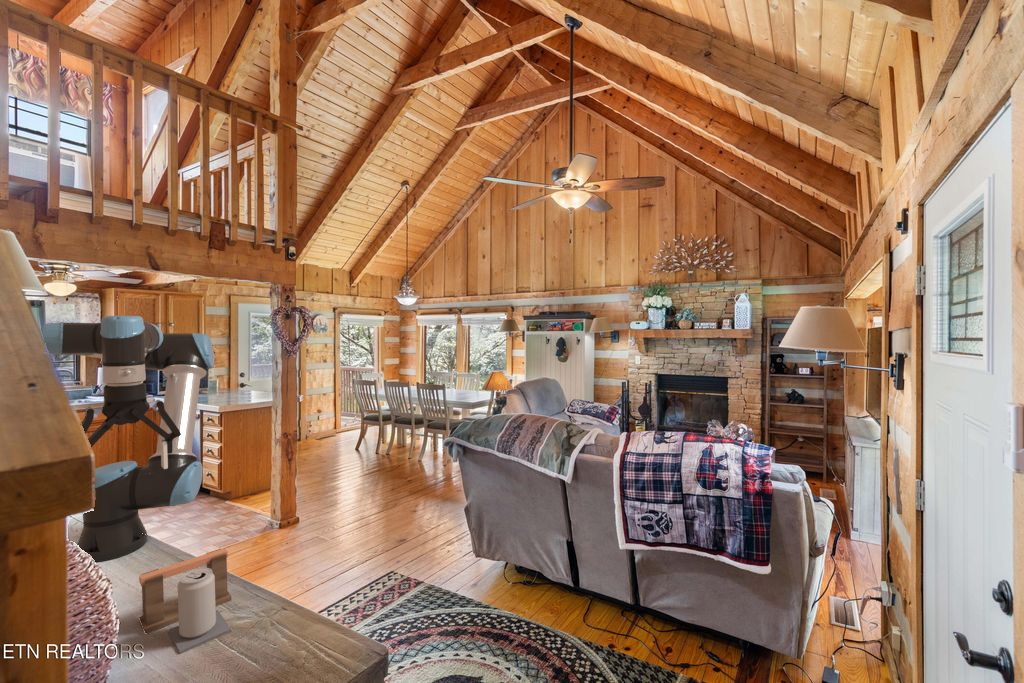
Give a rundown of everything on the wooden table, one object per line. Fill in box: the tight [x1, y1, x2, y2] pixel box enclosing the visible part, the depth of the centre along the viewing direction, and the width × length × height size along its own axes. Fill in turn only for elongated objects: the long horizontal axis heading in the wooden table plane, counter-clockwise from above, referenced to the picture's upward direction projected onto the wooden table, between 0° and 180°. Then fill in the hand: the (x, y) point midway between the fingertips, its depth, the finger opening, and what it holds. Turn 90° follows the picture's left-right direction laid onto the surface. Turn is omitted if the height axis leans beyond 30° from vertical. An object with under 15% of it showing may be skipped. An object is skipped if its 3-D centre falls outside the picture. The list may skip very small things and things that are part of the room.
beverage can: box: [177, 567, 217, 638], centre depth 98 cm, size 6×6×12 cm
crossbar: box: [138, 547, 229, 587], centre depth 104 cm, size 2×16×2 cm, turn 137°
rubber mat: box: [168, 609, 232, 654], centre depth 98 cm, size 9×9×1 cm
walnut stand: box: [138, 548, 233, 634], centre depth 105 cm, size 6×16×11 cm, turn 138°
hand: (128, 474), depth 109 cm, fingers open, 13 cm apart
